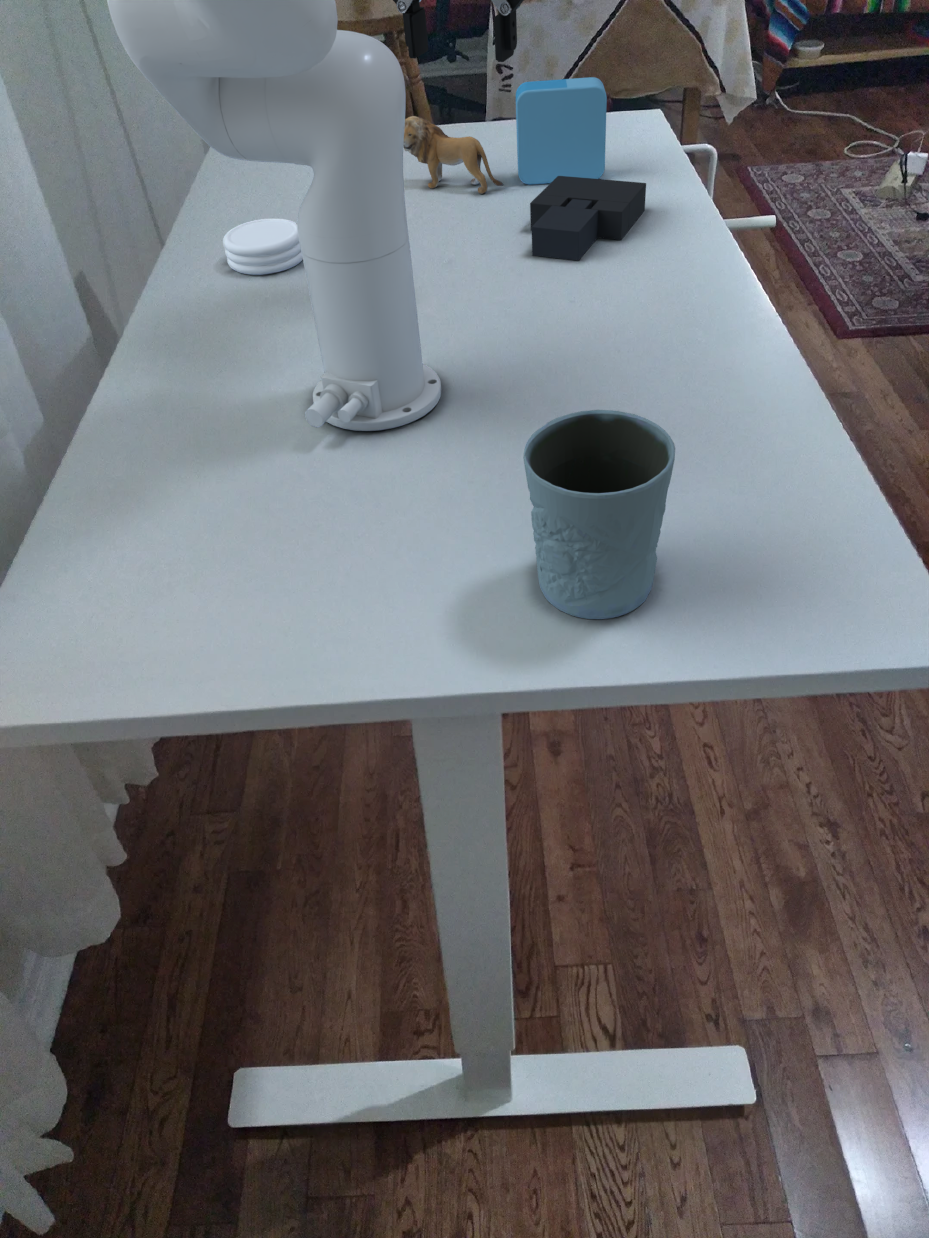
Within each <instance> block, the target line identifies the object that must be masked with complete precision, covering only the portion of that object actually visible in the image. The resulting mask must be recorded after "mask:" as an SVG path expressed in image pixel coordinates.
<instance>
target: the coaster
mask: <svg viewBox="0 0 929 1238" xmlns="http://www.w3.org/2000/svg"><path fill="white" fill-rule="evenodd" d="M222 245H223V248H224V254H225V256H226V257H227V258H226V262H227V265H228V266H229V267H230V269H232V270H233V271H235V272H236V273H237V272H238V273H240V274H245V275H253V276H262V275H263V276H265V275H271V274H276V273H281V272H283V271H287V270H289V269H291V268H294V267H296V266H298V265H299V264H300V263H301V262H303V257H302V252H301V247H300V242H299V237H298V229H297V222H296V221H294V220H290V219H286V218H275V217H274V218H271V217H270V218H261V219H260V218H259V219H255V220H250V221H247V222H244V223H241V224H238V225H236V226H234V227H233V228H231V229H230V230H228V231H227V232H226V233H225V235H224V236H223V238H222Z"/></svg>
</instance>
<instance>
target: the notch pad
mask: <svg viewBox="0 0 929 1238" xmlns="http://www.w3.org/2000/svg"><path fill="white" fill-rule="evenodd" d="M646 193H647V183H646V182H639V181H628V180H616V179H602V178H598V179H592V178H580V177H568V176H557V177H556V178H555V179H554V180H553V181H552V182H551V183H548V185H547V186H546V187H545V188H543V190H542V191H541V192H540V193H539V194H538V195H536V196H535V198H534V199H533V200H532V201H531V202H530V203H529V205H530V206H529V211H530V212H529V215H530V216H529V217H530V231H531V232H532V226H533V225H534V224H535V223H536V222H537V221H538V220H539V219H540V218H541V217H542V216H543V215H544V214H545V213H546V212H547V211H548V210H549V208H550V207H551V206H562V207H566V206H567V204H568V203H569V202H570V201H571V200H572V199H579V200H589V201H592V208H591V209H593V210H598V236H597V239H606V240H614V241H615V240H616V241H622V240H623V238H624V237H625V236H626V235H627V233H628V232H629V231H630V230H631V229H632V227H633V226H634V225H635V224H636V222H637V221H638V220H639V219H640V217H641V216H642V215H643V213H644V212H645V211H646V196H647V195H646Z"/></svg>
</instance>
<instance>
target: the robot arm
mask: <svg viewBox="0 0 929 1238" xmlns="http://www.w3.org/2000/svg"><path fill="white" fill-rule="evenodd" d="M392 1H393V2H394V4H395V5H396V9H397V11H398V12H399V13H400V14H402V22H403V33H404V43H405V46H406V47H407V50H408V56H409V59H417V58H419V57H421V56H422V55H424V54H426V53H427V52H428V51H429V41H428V28H427V16H426V10H425V7H424V6H421V1H422V0H392ZM490 1H491V2H492V4H493V5H494V6H495V8H496V9H497V12H498V13H497V14H496V15H495V16H494V17H493V29H494V30H493V31H494V32H493V33H494V53H495V57H494V58H495V61H497V62H498V63H505V62H506V61H507V60H509V59H510V58H512V57H513V56H514V54H515V50H516V49H517V45H518V27H517V25H518V24H517V23H518V22H517V10H518V9H519V8H520V7H521V5H522V3H523V2H524V1H525V0H490ZM106 3H107V8H108V12H109V15H110V19H111V22H112V25H113V26H114V27H113V28H114V30H115V33H116V35H117V37H118V39H119V42H120V43H121V45H122V47H123V49H124V52H125V53H126V54H127V56H128V58H129V59H130V60H131V62H132V63H133V64H134V66H135V67H136V68H137V69H138V71H139V72H140V73H141V74H142V76H143V77H144V78H145V79H146V80H147V82H149V83H150V84H151V86H152V87H154V89H155V90H156V91H157V92H158V93H159V95H161V96H162V97H163V99H164V100H165V101H166V102H167V103H168V104H169V105H170V107H172V108H173V110H174V111H175V112H176V113H177V114H178V115H179V117H181V119H183V121H185V123H186V124H187V125H188V126H189V127H190V128H191V129H192V130H193V131H194V133H195V134H196V135H197V136H198V137H199V138H200V139H201V140H203V142H205V143H206V145H208V146H209V147H210V148H211V149H213V150H214V151H216V152H217V153H219V154H221V155H223V156H225V157H228V158H229V159H233V160H237V161H247V162H256V163H259V162H260V163H275V164H291V165H293V164H294V165H297V166H307V167H310V168H311V169H312V171H313V177H312V180H311V183H310V185H309V187H308V189H307V191H306V193H305V194H304V197H303V199H302V201H301V202H300V204H299V205H300V206H299V208H298V212H297V219H296V221H297V222H296V223H297V229H298V237H299V242H300V247H301V252H302V257H303V260H302V262H303V267H304V273H305V278H306V283H307V288H308V295H309V299H310V305H311V309H312V316H313V321H314V326H315V332H316V337H317V342H318V343H317V344H318V349H319V353H320V358H321V359H320V360H321V364H322V369H323V374H321V376H320V380H319V381H318V382H317V383H316V385H315V387H314V388H313V391H312V402H313V404H311V405H310V406H309V407H308V408H307V409H306V410H305V412H304V419H305V420H306V422H307V423H308V424H309V425H310V426H311V427H314V428H322V426H323V425H324V424H326V423H327V424H328V423H329V424H330V425H332V426H333V427H337V428H340V429H344V430H348V431H355V432H356V431H357V432H358V431H359V432H374V431H375V432H377V431H384V430H390V429H395V428H398V427H402V426H406V425H408V424H410V423H413V422H415V421H417V420H419V419H421V418H423V417H425V416H426V415H427V414H428V413H430V412H431V411H432V410H433V409H434V408H435V407H436V406H437V404H438V403H439V401H440V400H441V397H442V383H441V378H440V376H439V374H438V373H437V372H436V371H435V370H434V369H433V368H432V367H430V366H428V365H427V364H425V363H423V354H422V353H423V352H422V346H421V345H422V344H421V337H420V327H419V318H418V309H417V300H416V292H415V291H416V290H415V280H414V271H413V270H414V269H413V262H412V253H411V245H410V235H409V229H408V228H409V227H408V217H407V208H406V207H407V206H406V197H405V180H404V126H405V119H406V108H407V107H406V106H407V105H406V104H407V103H406V101H407V98H406V97H407V93H406V81H405V77H404V73H403V69H402V66H401V64H400V62H399V60H398V58H397V57H396V55H395V54H394V52H393V51H392V50H391V49H390V48H389V47H388V46H387V45H385V43H383V42H382V41H380V40H379V39H377V38H375V37H373V36H371V35H368V34H365V33H361V32H356V31H352V30H344V29H343V30H342V29H338V23H339V19H338V18H339V17H338V9H337V4H336V0H106Z"/></svg>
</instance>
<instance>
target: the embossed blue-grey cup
mask: <svg viewBox="0 0 929 1238" xmlns="http://www.w3.org/2000/svg"><path fill="white" fill-rule="evenodd" d="M675 446H676V445H675V443H674V441H673V438H672V437H671V436H670V435H669V433H668V432H667V431H666V430H665V429H664V428H662V427H661V426H660V425H659V424H657V423H656V422H654V421H652V420H650V419H648V418H646V417H643V416H640V415H637V414H635V413H630V412H625V411H621V410H613V409H612V410H611V409H608V410H607V409H592V410H581V411H576V412H571V413H568V414H564V415H561V416H559V417H556V418H554V419H551V420H549V421H548V422H546V424H544V425H542V426H541V427H539V428H538V429H536V430H535V431H534V432H533V433H532V434H531V436H529V438H528V439H527V441H526V443H525V446H524V448H523V449H524V450H523V464H524V471H525V472H524V473H525V476H526V485H527V489H528V492H529V501H530V502H531V505H532V506H533V508H532V510H531V512H530V513H531V514H530V515H531V527H532V530H533V533H532V534H533V541H534V542H535V547H534V549H535V556H536V557H535V558H536V568H537V579H538V584H539V588H540V590H541V592H542V594H543V596H544V598H545V599H546V601H547V602H548V603H550V604H551V606H553V607H554V608H556V609H557V610H559V611H561V612H562V613H564V614H567V615H570V616H572V617H576V618H580V619H586V620H607V619H614V618H619V617H621V616H623V615H627V614H629V613H631V612H633V611H634V610H636V609H638V608H639V607H640V606H641V605H642V604H643V603H644V602H646V601H647V599H648V596H649V595H650V592H651V591H652V587H653V585H654V578H655V573H656V568H657V561H658V555H657V548H658V544H659V540H660V539H659V538H660V535H661V528H662V525H663V520H664V515H665V512H666V507H667V504H666V503H667V498H668V493H669V492H668V491H669V488H670V484H671V481H672V476H673V475H672V474H673V471H674V464H675V458H676V447H675Z"/></svg>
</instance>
